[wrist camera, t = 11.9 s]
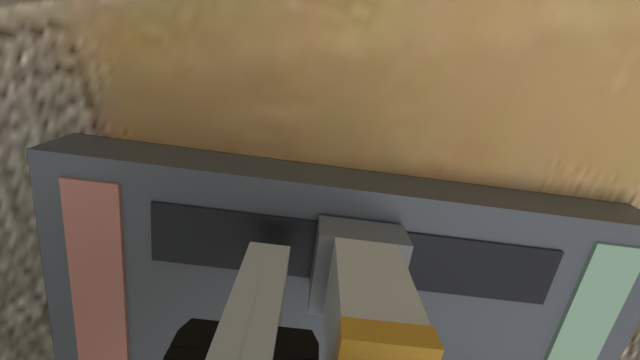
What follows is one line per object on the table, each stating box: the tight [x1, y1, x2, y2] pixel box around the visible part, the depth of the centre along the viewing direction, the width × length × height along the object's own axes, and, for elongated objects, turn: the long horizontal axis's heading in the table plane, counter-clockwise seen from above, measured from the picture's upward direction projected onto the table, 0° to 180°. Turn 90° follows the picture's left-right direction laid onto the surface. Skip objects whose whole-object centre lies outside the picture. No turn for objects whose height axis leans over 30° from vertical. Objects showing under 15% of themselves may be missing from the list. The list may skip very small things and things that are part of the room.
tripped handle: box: [308, 215, 444, 360], centre depth 13 cm, size 4×4×7 cm
